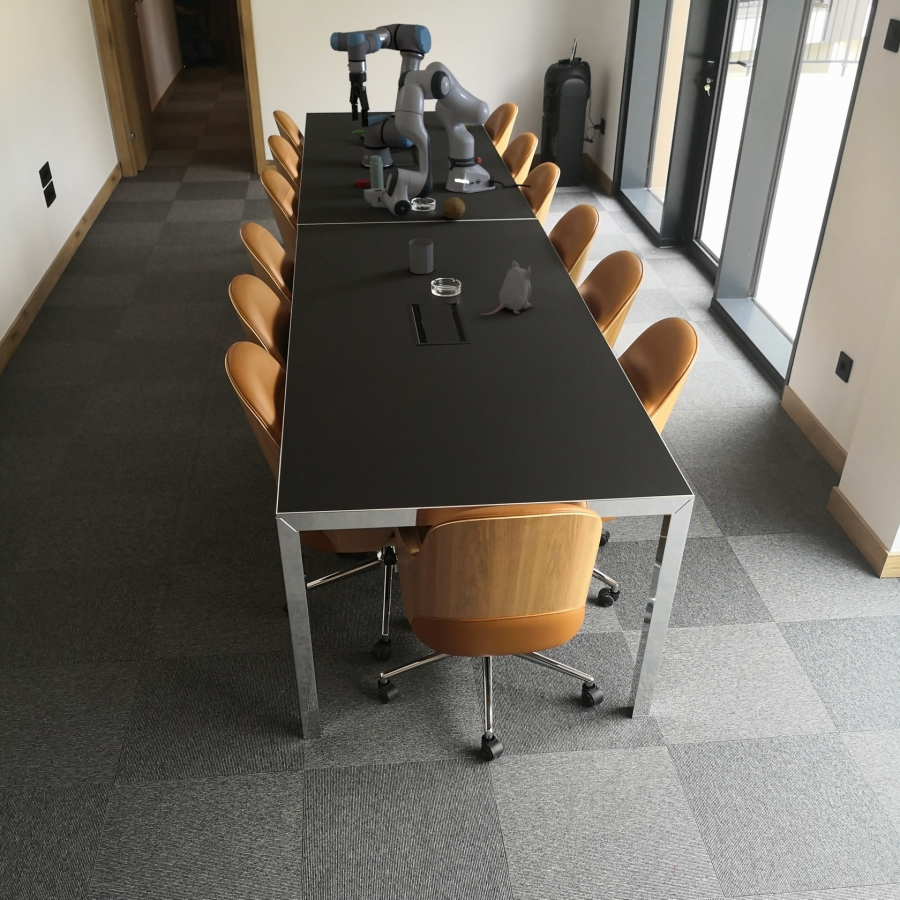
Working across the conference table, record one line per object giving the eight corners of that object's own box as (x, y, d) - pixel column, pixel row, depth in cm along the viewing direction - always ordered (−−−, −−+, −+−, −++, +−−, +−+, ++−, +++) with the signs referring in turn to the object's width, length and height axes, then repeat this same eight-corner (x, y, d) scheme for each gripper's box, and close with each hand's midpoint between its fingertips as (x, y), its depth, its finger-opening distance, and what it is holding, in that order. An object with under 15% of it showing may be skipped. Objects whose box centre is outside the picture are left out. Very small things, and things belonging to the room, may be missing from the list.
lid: (369, 183, 400) (369, 178, 399) (370, 187, 395) (370, 182, 394) (355, 184, 400) (355, 179, 398) (356, 188, 394) (356, 182, 393)
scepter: (406, 126, 467) (350, 124, 465) (406, 141, 460) (349, 139, 458) (405, 136, 472) (350, 133, 470) (405, 151, 465) (349, 149, 463)
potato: (463, 212, 364) (464, 193, 359) (466, 223, 352) (466, 203, 348) (440, 212, 363) (440, 193, 359) (442, 223, 351) (442, 204, 347)
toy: (538, 306, 281) (541, 262, 273) (491, 329, 266) (492, 282, 258) (517, 299, 286) (519, 255, 278) (469, 320, 271) (470, 275, 263)
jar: (384, 194, 386) (382, 155, 377) (383, 197, 382) (381, 158, 373) (371, 194, 386) (369, 155, 377) (370, 197, 382) (368, 158, 373)
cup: (409, 265, 311) (408, 238, 306) (432, 265, 312) (431, 238, 307) (410, 274, 304) (409, 246, 299) (433, 273, 305) (433, 246, 299)
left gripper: (340, 67, 380) (343, 118, 391) (358, 77, 360) (361, 130, 372) (356, 66, 382) (359, 117, 394) (375, 75, 363) (377, 128, 374)
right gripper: (416, 187, 361) (406, 179, 372) (368, 192, 356) (360, 183, 367) (416, 202, 365) (407, 193, 376) (369, 207, 359) (361, 198, 370)
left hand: (360, 123), depth 383 cm, fingers open, 13 cm apart
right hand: (383, 188), depth 371 cm, fingers open, 8 cm apart
